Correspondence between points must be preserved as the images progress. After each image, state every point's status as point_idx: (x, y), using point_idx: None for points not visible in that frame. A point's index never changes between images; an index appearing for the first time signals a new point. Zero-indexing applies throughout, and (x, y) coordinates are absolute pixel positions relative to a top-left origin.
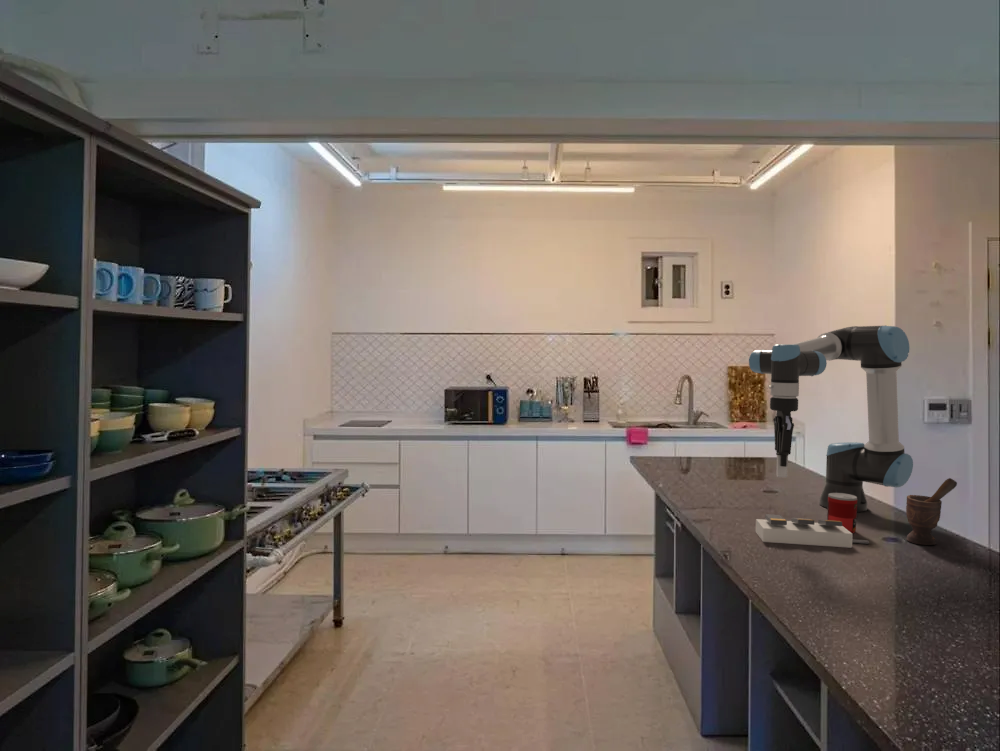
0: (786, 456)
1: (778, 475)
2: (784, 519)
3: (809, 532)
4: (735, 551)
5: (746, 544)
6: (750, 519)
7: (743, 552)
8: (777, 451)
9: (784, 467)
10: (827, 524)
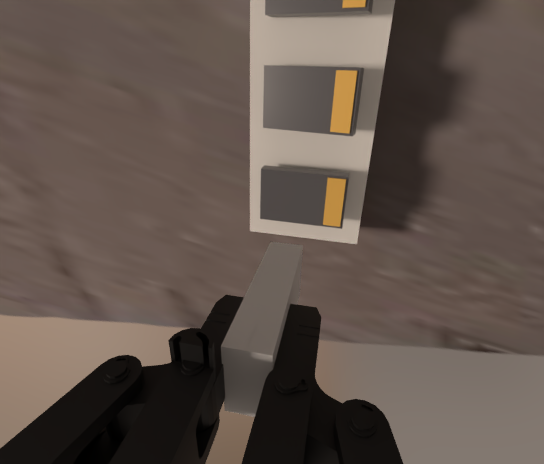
0: (315, 379)
1: (298, 296)
2: (332, 180)
3: (379, 93)
4: (447, 319)
5: (384, 275)
6: (135, 189)
7: (457, 304)
8: (215, 432)
9: (291, 300)
10: (371, 5)
